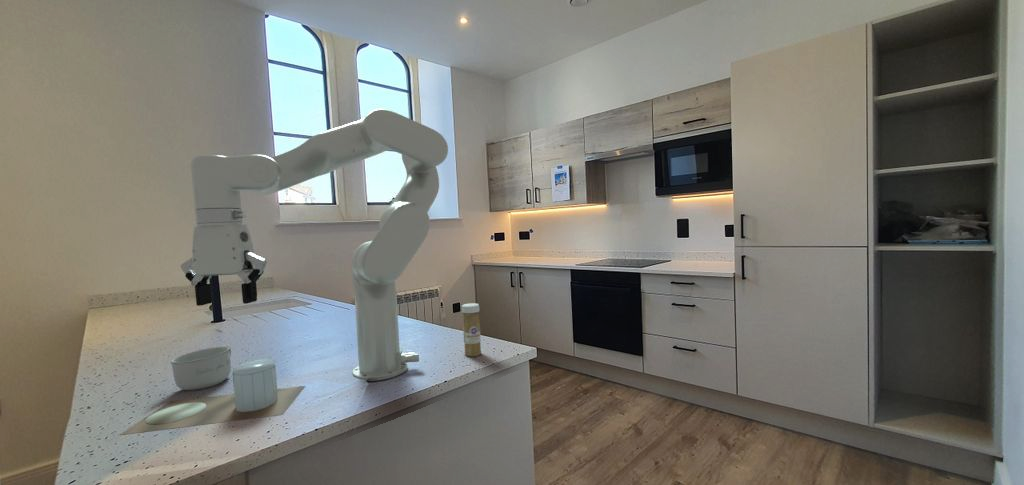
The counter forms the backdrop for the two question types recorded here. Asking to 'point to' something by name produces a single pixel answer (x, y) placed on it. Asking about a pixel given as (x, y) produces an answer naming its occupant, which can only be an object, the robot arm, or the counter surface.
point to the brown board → (209, 412)
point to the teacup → (202, 368)
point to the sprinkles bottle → (471, 329)
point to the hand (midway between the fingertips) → (227, 303)
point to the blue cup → (255, 385)
